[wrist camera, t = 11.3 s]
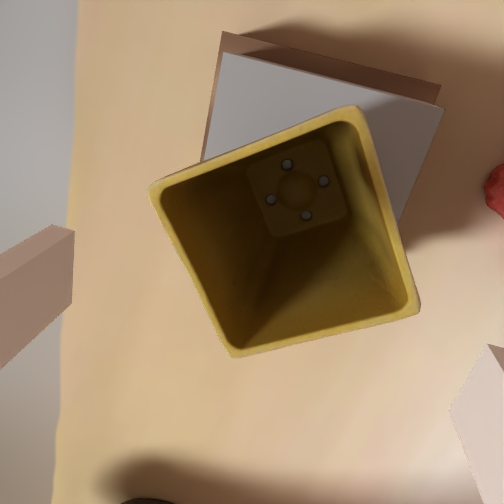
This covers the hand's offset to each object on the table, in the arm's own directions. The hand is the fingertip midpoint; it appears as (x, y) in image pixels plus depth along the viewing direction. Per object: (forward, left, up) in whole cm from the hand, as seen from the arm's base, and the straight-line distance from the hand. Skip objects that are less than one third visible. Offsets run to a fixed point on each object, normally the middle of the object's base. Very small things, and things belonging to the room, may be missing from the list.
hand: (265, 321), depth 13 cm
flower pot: (+1, 0, -13) cm, 13 cm away
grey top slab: (+1, 0, -18) cm, 18 cm away
